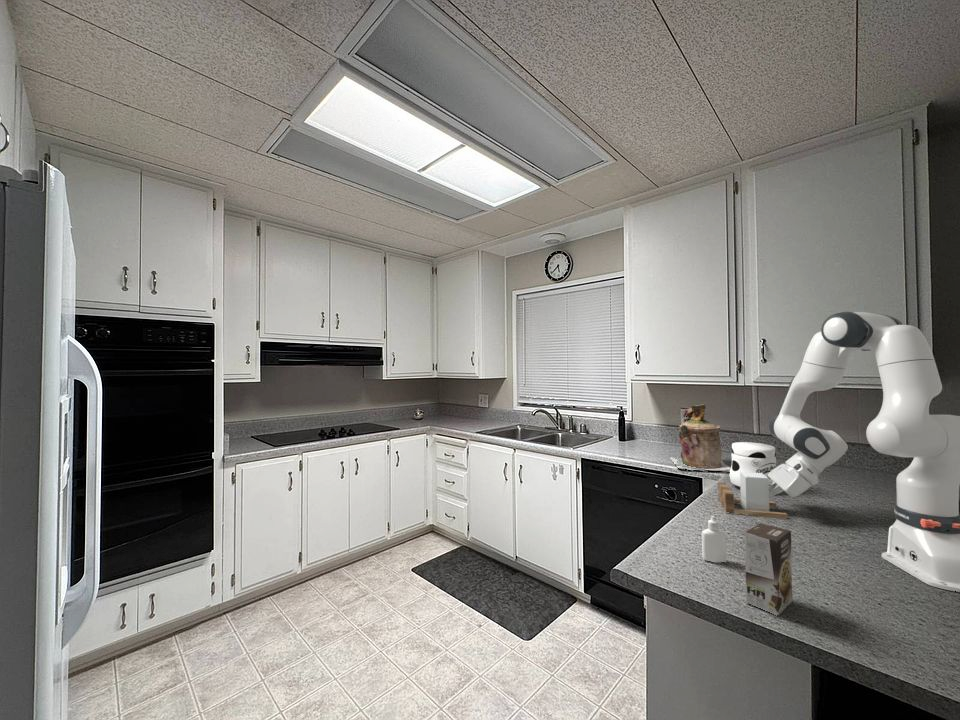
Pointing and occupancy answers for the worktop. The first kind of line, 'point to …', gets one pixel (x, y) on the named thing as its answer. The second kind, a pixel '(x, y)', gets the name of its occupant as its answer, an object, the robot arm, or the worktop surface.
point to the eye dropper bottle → (713, 542)
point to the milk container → (751, 460)
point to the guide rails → (759, 513)
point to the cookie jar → (700, 442)
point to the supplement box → (754, 491)
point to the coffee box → (768, 568)
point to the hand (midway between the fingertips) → (768, 494)
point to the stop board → (725, 497)
